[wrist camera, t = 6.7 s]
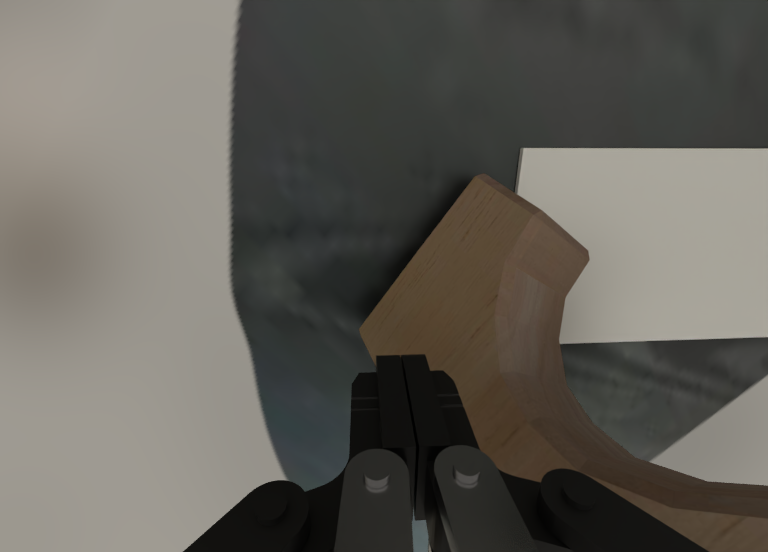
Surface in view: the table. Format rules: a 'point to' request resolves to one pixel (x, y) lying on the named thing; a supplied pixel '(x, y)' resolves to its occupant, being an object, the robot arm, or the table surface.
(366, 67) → the table surface
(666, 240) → the mat
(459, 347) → the decorative block
